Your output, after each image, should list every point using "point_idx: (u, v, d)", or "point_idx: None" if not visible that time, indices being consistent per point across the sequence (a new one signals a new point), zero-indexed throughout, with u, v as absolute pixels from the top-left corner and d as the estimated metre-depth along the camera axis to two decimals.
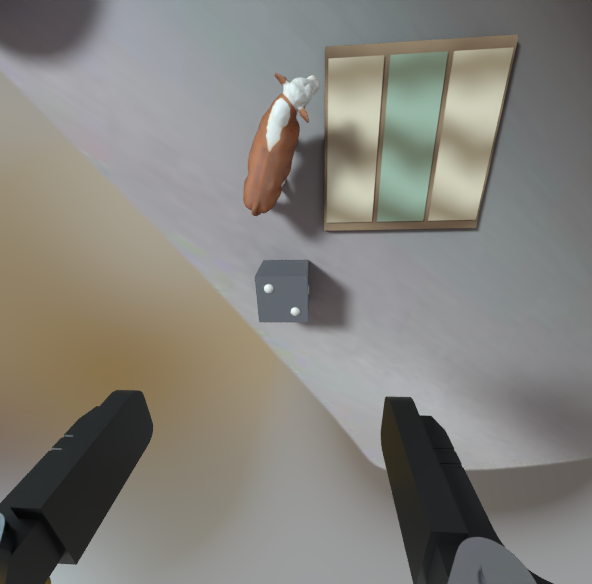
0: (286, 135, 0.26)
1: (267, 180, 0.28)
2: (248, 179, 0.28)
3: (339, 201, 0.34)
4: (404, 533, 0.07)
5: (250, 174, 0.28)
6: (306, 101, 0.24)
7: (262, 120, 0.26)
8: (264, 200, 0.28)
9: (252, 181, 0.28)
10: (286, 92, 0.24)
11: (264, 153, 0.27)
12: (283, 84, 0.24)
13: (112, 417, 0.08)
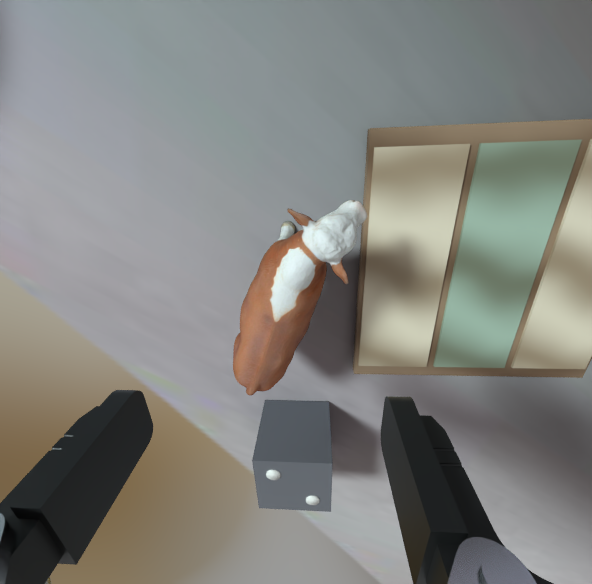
0: (307, 299, 0.15)
1: (272, 358, 0.16)
2: (240, 350, 0.17)
3: (379, 341, 0.22)
4: (404, 533, 0.07)
5: (243, 345, 0.17)
6: (346, 253, 0.13)
7: (264, 270, 0.15)
8: (267, 381, 0.17)
9: (246, 356, 0.17)
10: (309, 241, 0.13)
11: (267, 322, 0.15)
12: (303, 226, 0.13)
13: (112, 417, 0.08)
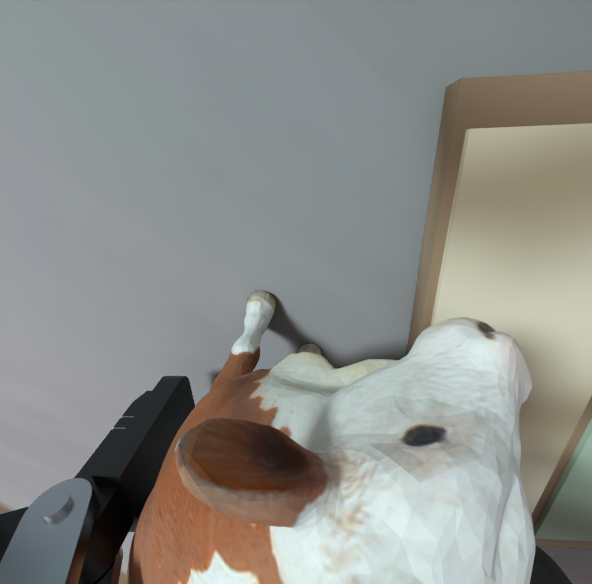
0: None
1: None
2: None
3: None
4: None
5: None
6: None
7: (153, 531, 0.04)
8: None
9: None
10: None
11: None
12: None
13: (167, 399, 0.09)
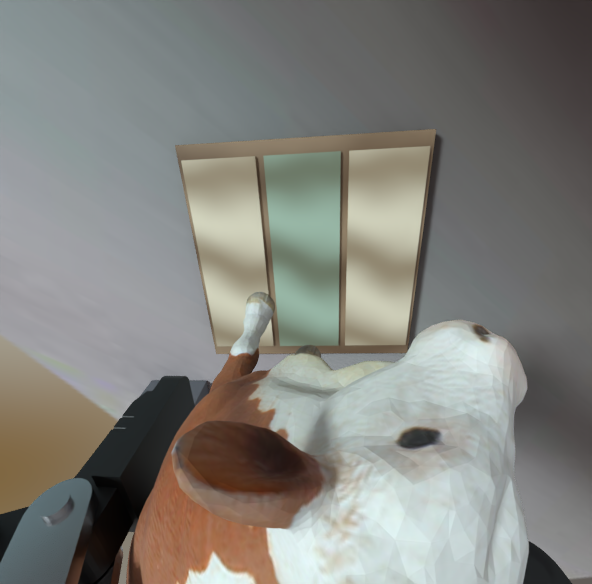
0: None
1: None
2: None
3: (228, 323, 0.26)
4: None
5: None
6: None
7: (152, 532, 0.04)
8: None
9: None
10: None
11: None
12: None
13: (167, 399, 0.09)
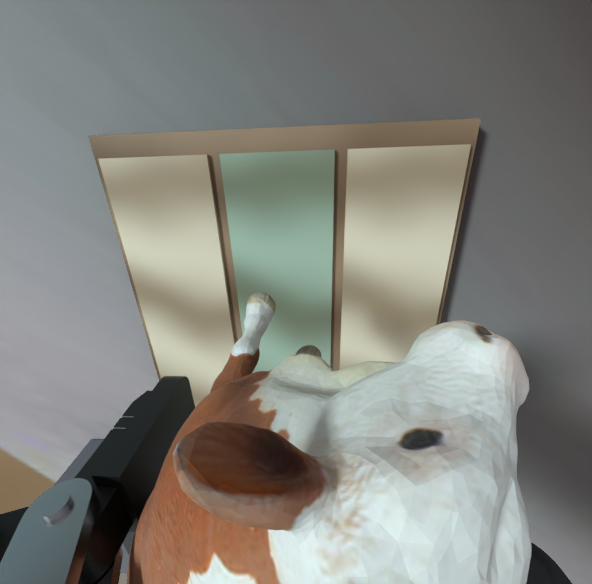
0: None
1: None
2: None
3: None
4: None
5: None
6: None
7: (152, 533, 0.04)
8: None
9: None
10: None
11: None
12: None
13: (167, 399, 0.09)
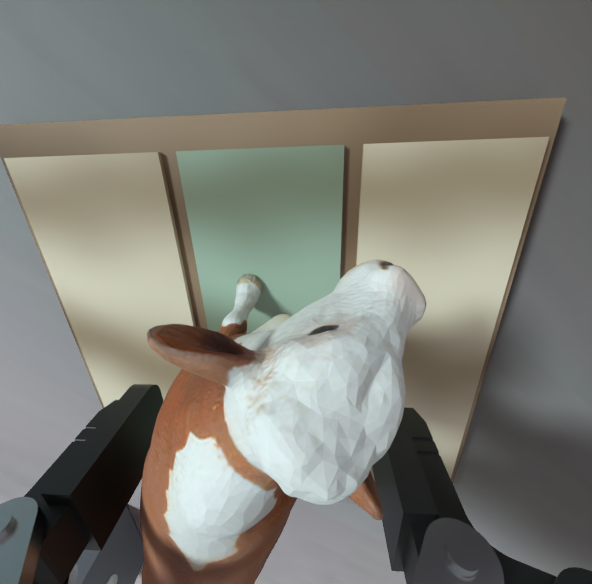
0: (269, 527, 0.05)
1: None
2: (143, 581, 0.08)
3: None
4: (384, 519, 0.07)
5: (146, 578, 0.07)
6: None
7: (153, 448, 0.06)
8: None
9: None
10: (240, 432, 0.04)
11: (179, 564, 0.06)
12: None
13: (132, 409, 0.08)
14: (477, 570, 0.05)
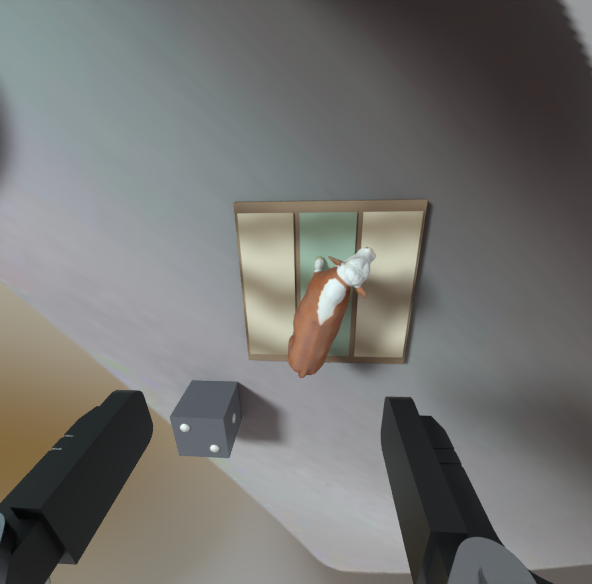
0: (340, 309, 0.23)
1: (317, 350, 0.24)
2: (295, 346, 0.25)
3: (261, 336, 0.32)
4: (404, 533, 0.07)
5: (297, 342, 0.25)
6: (364, 280, 0.21)
7: (311, 292, 0.23)
8: (313, 367, 0.25)
9: (300, 350, 0.25)
10: (341, 274, 0.21)
11: (314, 326, 0.24)
12: (338, 265, 0.21)
13: (112, 417, 0.08)
14: None
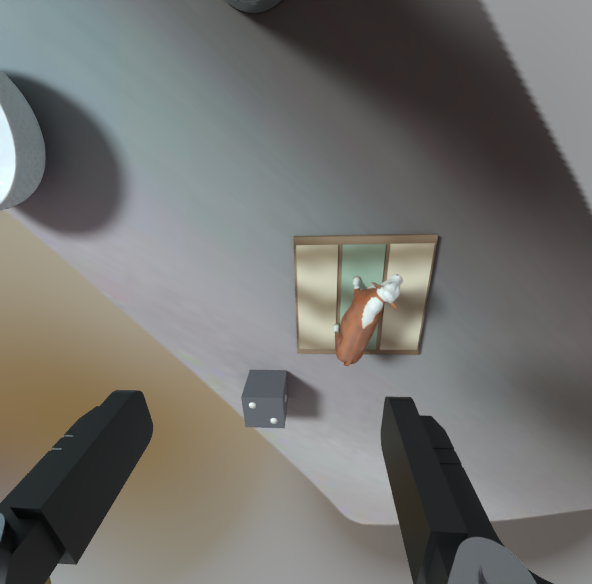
0: (378, 317, 0.33)
1: (360, 346, 0.34)
2: (343, 343, 0.35)
3: (308, 335, 0.42)
4: (404, 533, 0.07)
5: (345, 340, 0.35)
6: None
7: (357, 305, 0.33)
8: (356, 358, 0.35)
9: (347, 346, 0.35)
10: (380, 294, 0.31)
11: (359, 329, 0.33)
12: (378, 288, 0.31)
13: (112, 417, 0.08)
14: None
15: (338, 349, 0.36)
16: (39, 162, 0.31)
